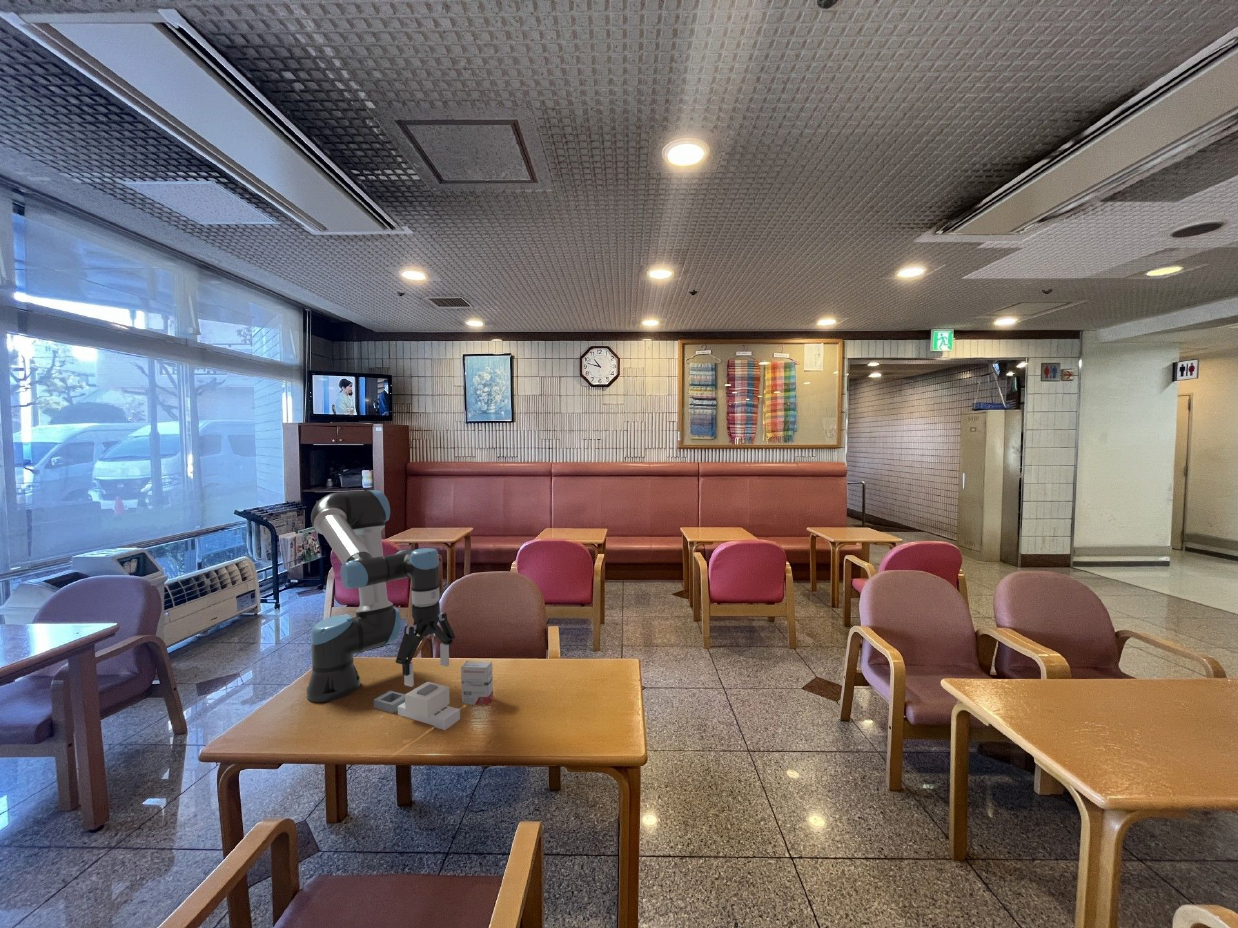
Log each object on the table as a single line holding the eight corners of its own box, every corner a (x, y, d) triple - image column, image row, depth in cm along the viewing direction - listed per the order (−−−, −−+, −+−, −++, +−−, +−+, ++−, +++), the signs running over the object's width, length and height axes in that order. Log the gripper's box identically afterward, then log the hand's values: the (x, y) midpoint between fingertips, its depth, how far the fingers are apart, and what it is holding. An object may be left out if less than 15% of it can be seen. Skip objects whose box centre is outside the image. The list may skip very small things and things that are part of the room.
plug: (405, 719, 142) (404, 692, 142) (428, 705, 150) (427, 679, 150) (427, 726, 139) (427, 698, 138) (449, 711, 146) (449, 684, 146)
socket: (398, 716, 145) (397, 704, 145) (414, 706, 151) (413, 694, 150) (444, 730, 138) (444, 717, 138) (460, 719, 143) (459, 706, 143)
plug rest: (373, 709, 149) (373, 699, 149) (390, 699, 155) (390, 690, 155) (393, 714, 146) (392, 704, 146) (409, 705, 151) (409, 695, 151)
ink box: (494, 697, 155) (493, 660, 155) (488, 705, 151) (487, 667, 150) (467, 696, 156) (466, 659, 156) (461, 704, 151) (460, 666, 151)
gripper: (400, 618, 130) (402, 697, 131) (465, 592, 153) (467, 659, 154) (380, 614, 133) (382, 691, 134) (447, 589, 156) (448, 655, 157)
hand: (427, 674), depth 144 cm, fingers open, 13 cm apart
